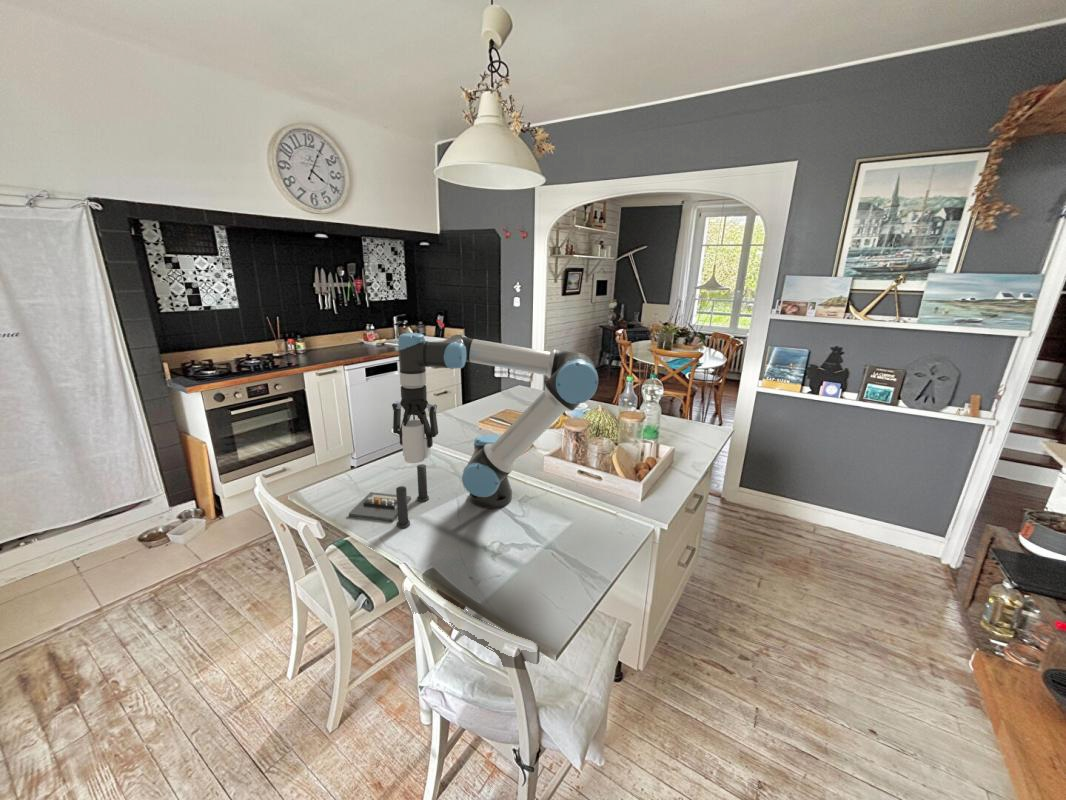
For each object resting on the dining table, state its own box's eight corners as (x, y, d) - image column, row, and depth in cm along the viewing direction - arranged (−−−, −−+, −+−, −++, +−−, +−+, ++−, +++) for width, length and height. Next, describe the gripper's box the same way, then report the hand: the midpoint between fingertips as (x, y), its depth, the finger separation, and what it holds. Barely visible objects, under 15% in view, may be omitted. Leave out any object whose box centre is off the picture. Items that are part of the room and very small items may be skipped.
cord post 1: (412, 522, 135) (410, 486, 131) (406, 529, 131) (404, 492, 127) (400, 520, 135) (397, 484, 131) (394, 527, 131) (392, 491, 128)
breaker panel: (411, 499, 148) (410, 491, 147) (392, 521, 134) (392, 512, 133) (370, 495, 150) (370, 487, 149) (348, 516, 136) (348, 507, 135)
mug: (415, 465, 128) (413, 428, 125) (398, 460, 131) (396, 424, 128) (437, 454, 137) (436, 419, 133) (421, 449, 140) (420, 415, 136)
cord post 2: (430, 496, 150) (429, 464, 146) (426, 502, 146) (424, 469, 142) (419, 495, 150) (418, 463, 147) (415, 501, 147) (413, 468, 143)
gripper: (448, 384, 129) (450, 453, 136) (389, 379, 132) (393, 447, 139) (439, 390, 122) (441, 463, 129) (377, 385, 125) (382, 457, 132)
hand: (416, 455), depth 134 cm, fingers closed on mug, 6 cm apart
